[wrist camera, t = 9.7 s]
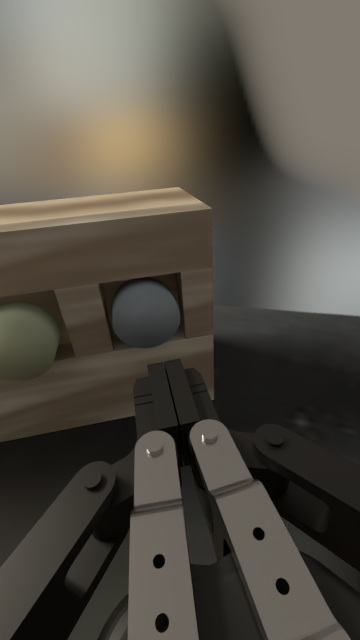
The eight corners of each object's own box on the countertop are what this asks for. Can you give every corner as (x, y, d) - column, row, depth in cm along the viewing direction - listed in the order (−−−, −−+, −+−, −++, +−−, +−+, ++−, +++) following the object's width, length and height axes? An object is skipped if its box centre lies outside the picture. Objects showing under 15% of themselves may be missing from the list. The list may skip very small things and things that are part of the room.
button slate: (182, 342, 20) (177, 284, 17) (118, 353, 19) (105, 295, 17) (176, 326, 21) (171, 272, 19) (118, 336, 21) (106, 281, 19)
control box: (214, 399, 24) (211, 208, 16) (-109, 464, 21) (-300, 266, 13) (188, 334, 33) (178, 187, 25) (-46, 373, 30) (-140, 219, 22)
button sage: (63, 374, 18) (41, 313, 16) (-11, 386, 17) (-45, 326, 15) (68, 354, 19) (48, 297, 17) (0, 365, 19) (-29, 307, 17)
